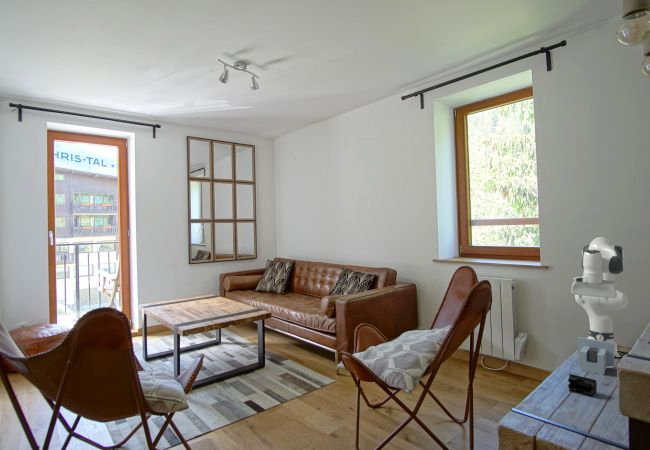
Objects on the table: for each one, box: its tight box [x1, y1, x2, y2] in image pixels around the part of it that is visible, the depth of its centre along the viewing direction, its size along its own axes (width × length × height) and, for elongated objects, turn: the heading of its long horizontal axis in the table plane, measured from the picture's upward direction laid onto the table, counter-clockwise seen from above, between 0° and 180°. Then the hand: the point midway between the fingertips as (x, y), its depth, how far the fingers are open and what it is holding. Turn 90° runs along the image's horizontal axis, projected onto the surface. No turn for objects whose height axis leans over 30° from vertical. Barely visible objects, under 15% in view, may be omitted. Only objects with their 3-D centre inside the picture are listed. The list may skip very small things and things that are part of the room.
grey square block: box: [577, 336, 615, 375], centre depth 195 cm, size 16×16×14 cm
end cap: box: [567, 373, 598, 398], centre depth 165 cm, size 10×7×7 cm
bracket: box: [589, 347, 598, 362], centre depth 194 cm, size 6×3×6 cm, turn 137°
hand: (593, 304), depth 199 cm, fingers open, 8 cm apart
